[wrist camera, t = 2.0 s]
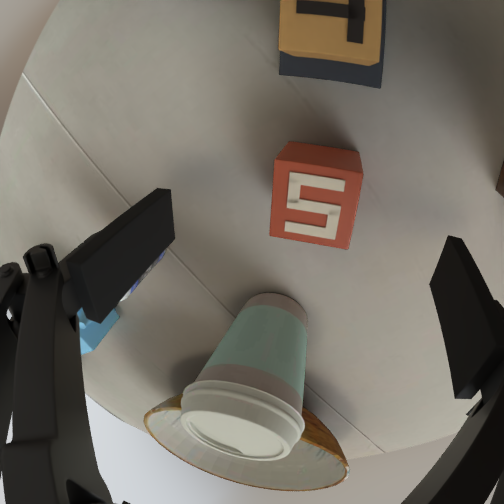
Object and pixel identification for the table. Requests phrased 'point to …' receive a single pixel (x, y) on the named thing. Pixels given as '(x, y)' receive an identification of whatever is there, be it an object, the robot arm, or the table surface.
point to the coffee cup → (252, 383)
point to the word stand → (501, 182)
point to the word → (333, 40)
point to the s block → (315, 194)
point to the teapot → (94, 330)
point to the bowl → (253, 471)
